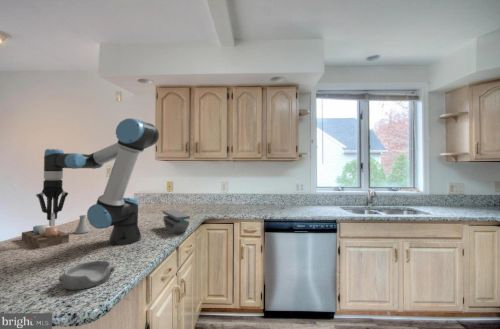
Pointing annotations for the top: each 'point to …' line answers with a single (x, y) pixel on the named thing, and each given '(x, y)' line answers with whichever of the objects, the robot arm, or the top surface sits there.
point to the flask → (82, 225)
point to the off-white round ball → (43, 229)
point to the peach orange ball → (51, 232)
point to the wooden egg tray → (44, 239)
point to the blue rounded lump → (36, 229)
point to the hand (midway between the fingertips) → (51, 225)
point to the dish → (86, 275)
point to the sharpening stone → (175, 221)
